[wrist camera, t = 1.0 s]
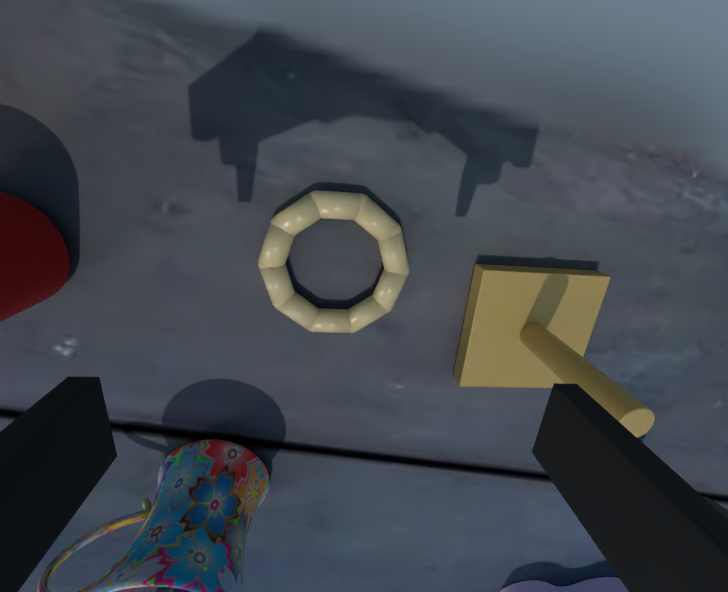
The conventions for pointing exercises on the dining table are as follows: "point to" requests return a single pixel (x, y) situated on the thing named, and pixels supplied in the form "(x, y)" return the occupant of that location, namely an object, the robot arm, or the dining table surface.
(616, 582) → the clip
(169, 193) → the dining table surface
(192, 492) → the mug
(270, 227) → the ring
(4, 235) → the beverage can
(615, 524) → the robot arm
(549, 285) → the square plate with peg
